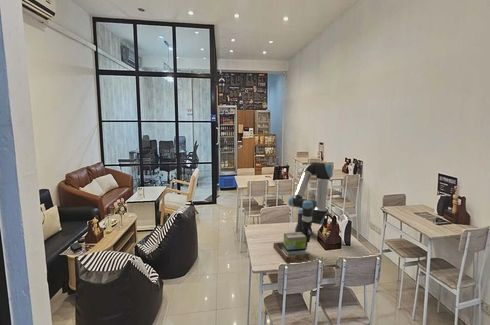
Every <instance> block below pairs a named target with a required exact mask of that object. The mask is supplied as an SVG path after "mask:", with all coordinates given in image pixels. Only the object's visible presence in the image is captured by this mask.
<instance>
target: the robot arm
mask: <svg viewBox="0 0 490 325" xmlns="http://www.w3.org/2000/svg"><path fill="white" fill-rule="evenodd" d="M333 170H334V169H333V166H332V164H331V163H327V162H315V161H314V162H310V163H308V164H306V165H305V166H304V168H303V169H302V171H301V173H300V174H301V176H300V179H299V181H298V184H297V186H296V189H295V191H294V194H293V196H290V197H289V198H288V206H290V207H292V208H298V209H297V223H296V226H295V228H294V232H302V233H303V234H304V235H305V236H306V237H307V240H306V251H307V250H308V244H309V243H310V242H311V236H312V233H313V229H312V224H315V225H319V226H320V225H322V226H324V225H323V221H324V218H325V216H326V215H327V214H328V213H329V211H328V209H327V207H326V206H327V196H328V195H327V194H328V185H329V181H330V180H331V178H332V177H333V174H334V173H333V172H334V171H333ZM313 176H315V178H316V180H317V187H316V198H315V199H313V198H311V199H308V198H307V199H305V198H304V196H305V192H306V190H307V187H308V185H309V183H310V182H309V181H310V179H311V178H313Z"/></svg>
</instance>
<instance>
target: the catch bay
mask: <svg viewBox="0 0 490 325" xmlns="http://www.w3.org/2000/svg"><path fill="white" fill-rule="evenodd" d="M282 248H283V241H280V242H273V249H274V250H275V251H276V253H277V254H278V255H279V256H280V257H281V258H282V260H283V261H284V262H285V263H293V262H301V261H309V260H310V254H309V253H305V254H303V255H291V256H287V255H286V254H285V252H284V251H283V249H282Z"/></svg>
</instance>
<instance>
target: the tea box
mask: <svg viewBox="0 0 490 325" xmlns="http://www.w3.org/2000/svg"><path fill="white" fill-rule="evenodd" d="M306 240H307V237H306V236H305V235H304V234H303V233H302V232H295V231H293V232H284V233H283V241H282V242H283V247H282V251H283V253H284V254H285V255H286V256H295V255H303V254H306V251H307V250H306Z"/></svg>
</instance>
